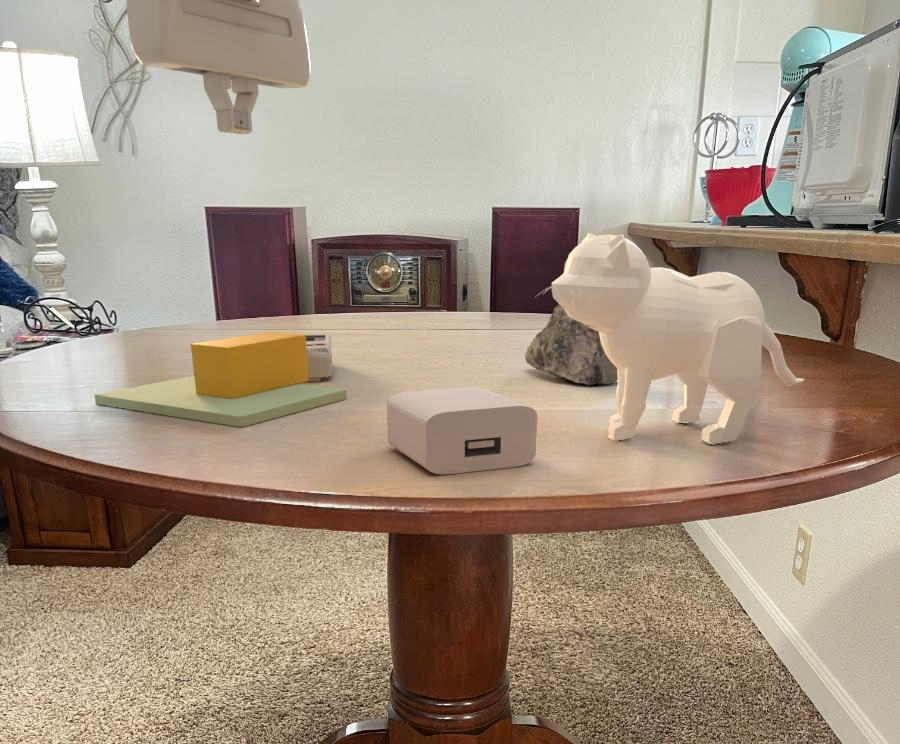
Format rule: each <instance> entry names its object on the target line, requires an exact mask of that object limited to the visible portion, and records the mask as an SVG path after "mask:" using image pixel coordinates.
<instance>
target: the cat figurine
mask: <svg viewBox="0 0 900 744" xmlns="http://www.w3.org/2000/svg"><path fill="white" fill-rule="evenodd" d="M563 267H564V269H563V273H562V274H561V275H560V276H559V277H558V278H556V279H555V280H554V281H552V282H551V286H549V287H546V288H545V289H544V290H542V291H541V292H540V293H538V294H537V295H535V298H536V297H537V296H539V295H540V294H542V295H544V294H545V293H546V291H549V290H550V289H551V293H552V294H551V295H552V298H553V299H554V300H555V302H556V303H557V304H558V305H559V304H560V305H561V306H562V307H563V308H564V310H565V311H566V313H567V314H568V316H569V317H570V318H572V319H574V320H576V321H578V322H581V323H583V325H584V326H587V327H589V328H591V329H594V330H596V331H598V332H599V336H600V341H601V344H602V347H603V349H604V352H605V354H606V355H607V357H608V358H609V360H610V361H611V363H612V364H613V365H615V366H616V367H617V375H618V380H617V386H616V390H615V394H616V395H615V396H616V405H617V407H616V408H617V413H615V414H612V415H611V416H609V421H608V434H607V438H608V439H610V440H611V441H613V442H619V440H621V441H624V440H626V439H630V438H634V437H635V436H636V429H637V428H636V427H637V425H638V423H639V421H640V419H641V417H642V416H643V414H644V411H645V409H646V407H647V406H646V403H647V401H646V400H647V397H648V394H649V391H650V388H651V384H652V381H656V380H660V379H663V378H667V377H671V376H673V375H675V376H676V377H677V378H678V379H679V380H680V382H682V383H683V405H680V406H678V407H677V408H674V409H673V410H672V417H671V421H672V420H674V421H676V422H678V423H682V422H690V423H693V422H692V421H694V422H697V421H699V420H700V417H701V416H700V415H701V413H702V410H703V407H704V402H705V397H706V394H707V390H708V386H709V385H710V386H711V387H712V388H713V389H714V390H716V391H717V392H718V393H719V394H720V395H721V396H722V397H724V398H725V399H726V400H725V403H724V405H723V408H722V410H721V413H720V415H719V418H718V420H717V423H716V424H709V425H707V426H705V427H702V431H701V437H700V438H701V439H702V440H704V441H706V442H708V443H717V442H725V443H729V442H735V441H736V439H738V438H739V436H740V434H741V432H742V429H743V427H744V424H745V422H746V419H747V417H748V414H749V412H750V409H751V407H752V404H753V401H754V398H755V396H756V392H757V389H758V386H759V383H760V380H761V378H762V354H763V353H762V349H763V347H764V348H765V349H766V350H768V352H769V354H770V357H771V361H772V366H773V368H774V372H775V374H776V376H778V377H779V379H781V380H782V381H783V382H784V383H785V384H786V385H787V386H789V387H790V386H791V387H792V386H795V385H799V384H801V383H803V382H804V381H805V378H800V377H799V378H798V377H796V376H795V374H793V372H792V371H791V370H790V368H789V367H788V365H787V363H786V358H785V355H784V351H783V348H782V345H781V342H780V341H779V339H778V338H777V336H776V335H775V333H774V332H773V331H772V329H771V328H770V326H769V325H768V323H767V322H766V316H765V309H764V306H763V303H762V300H761V298H760V296H759V295H758V293H757V292H756V290H755V289H754V288H753V286H752V285H750V283H748V282H747V281H746V280H744V279H743V278H741V277H739V276H738V275H735V274H733V273H730V272H728V271H727V272H726V271H713V272H707V273H704V274H698V275H694V276H688V275H686V274H684V273H682V272H679V271H677V270H674V269H672V268H666V267H651V266H650V264H649V262H648V259H647V257H646V255H645V254H644V252H643V251H642V249H640V247H638V246H637V245H636V244H635V243H634V242H633V241H631V240H630V239H627V238H626V237H625V235H624V233H620V234H619V233H618V234H599V235H596V234H594V233H590V232H587V234H586V237H584V238H583V239H582V240H581V241H580V243H579V244H578V245H577V246H575V247H574V248H573V249H572V250H571V251H570V253H568V257H567V259H566V261H565V262H564V266H563ZM701 439H700V440H701ZM728 441H729V442H728Z"/></svg>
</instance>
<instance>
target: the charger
mask: <svg viewBox="0 0 900 744" xmlns="http://www.w3.org/2000/svg"><path fill="white" fill-rule="evenodd" d="M386 421H387V423H386V425H387V441H388V444H389V445H390V446H391V447H392V448H395V449H396V450H397V451H399V452H400V453H402V454H403V455H405V456H406V457H408V458H409V459H411V460H412V461H413V462H415V463H417V464H418V465H419V466H421V467H423V468H424V469H425V470H427V471H429V472H431V473H432V474H435V475H453V474H464V473H473V472H474V473H475V472H482V471H491V470H500V469H509V468H517V467H522V466H525V465H527V464H529V463H531V462H532V461H533V460H534V459H535V458H536V455H537V433H538V432H537V431H538V413H537V411H536V410H535V409H534V408H532V407H530V406H528V405H525V404H523V403H521V402H518V401H515V400H513V399H510V398H507V397H505V396H503V395H500V394H499V393H495V392H493V391H491V390H489V389H487V388H486V389H485V388H483V387H479V386H463V387H462V386H461V387H449V388H448V387H447V388H434V389H422V390H407V391H401V392H398V393H395V394H393V395H391V396H390V397H389V398H388V399H387V401H386Z"/></svg>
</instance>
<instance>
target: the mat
mask: <svg viewBox="0 0 900 744" xmlns="http://www.w3.org/2000/svg"><path fill="white" fill-rule="evenodd" d="M347 396H348V395H347V389H345V388H339V387H330V386H329V387H328V386H321V385H314V384H313V385H312V384H304V383H299V384H294V385H290V386H286V387H281V388H277V389H273V390H268V391H264V392H260V393H255V394H251V395H247V396H242V397H238V398H234V399H229V398H222V397H215V396H207V395H200V394H196V387H195V378H194V375H188V376H183V377H178V378H174V379H169V380H162V381H157V382H153V383H147V384H143V385H137V386H131V387H127V388H122V389H117V390H111V391H106V392H101V393H96V394H95V393H94V400H95V405H97V404H100V405H99V406H103V405H106V406H105V407H110V406H111V407H110V408H116V407H118V408H117V409H122V408H124V409H123V410H130V411H135V410H137V411H136V412H141V411H143V412H142V413H149V414H154V413H155V414H154V415H160V414H161V415H162V416H166V417H167V416H168V417H174V418H179V419H185V420H186V419H187V420H193V421H199V422H206V423H213V424H219V425H223V426H232V427H238V428H245V427H248V426H252V425H255V424H259V423H262V422H267V421H270V420H274V419H279V418H281V417H285V416H288V415H293V414H296V413H299V412H303V411H307V410H311V409H314V408H318V407H321V406H326V405H330V404H332V403H336V402H340V401H344V400H347Z"/></svg>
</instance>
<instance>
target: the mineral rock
mask: <svg viewBox="0 0 900 744" xmlns="http://www.w3.org/2000/svg"><path fill="white" fill-rule="evenodd" d="M524 359H525V362H526V364H528V365H530V366H531V367H532V368H534V369H535V370H537V371H542V372H545V373H548V374H550V375H551V376H554V377H557V378H560V377H562V378H565V379H566V380H569V381H571V382H573V383H575V384H580V385H585V386H591V385H611V384H613V383H615V382H616V381H617V382H618V375H617V367H616V366H615V365H613V364H612V363H611V361H610V360H609V358H608V357H607V355H606V354H605V352H604V349H603V347H602V344H601V341H600V336H599V332H598V331H596V330H594V329H591V328H589V327H587V326H584V325H583V323H581V322H578V321H576V320H574V319H572V318H570V317H569V316H568V314H567V313H566V311H565V310H564V308H563V307H562V306H561V305H560V304H559V303H558V304H557V305H556V306H555V307H554V309H553V313H552V314H551V315H550V317H549V319H548V321H547V324H546V325H545V327H544V328H543V329H542V330H540V331H539V332H537V333H536V335H535V336H534V337H533V339H532V341H531V342H530V344H529V345H528V347H526V351H525V354H524Z"/></svg>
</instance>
